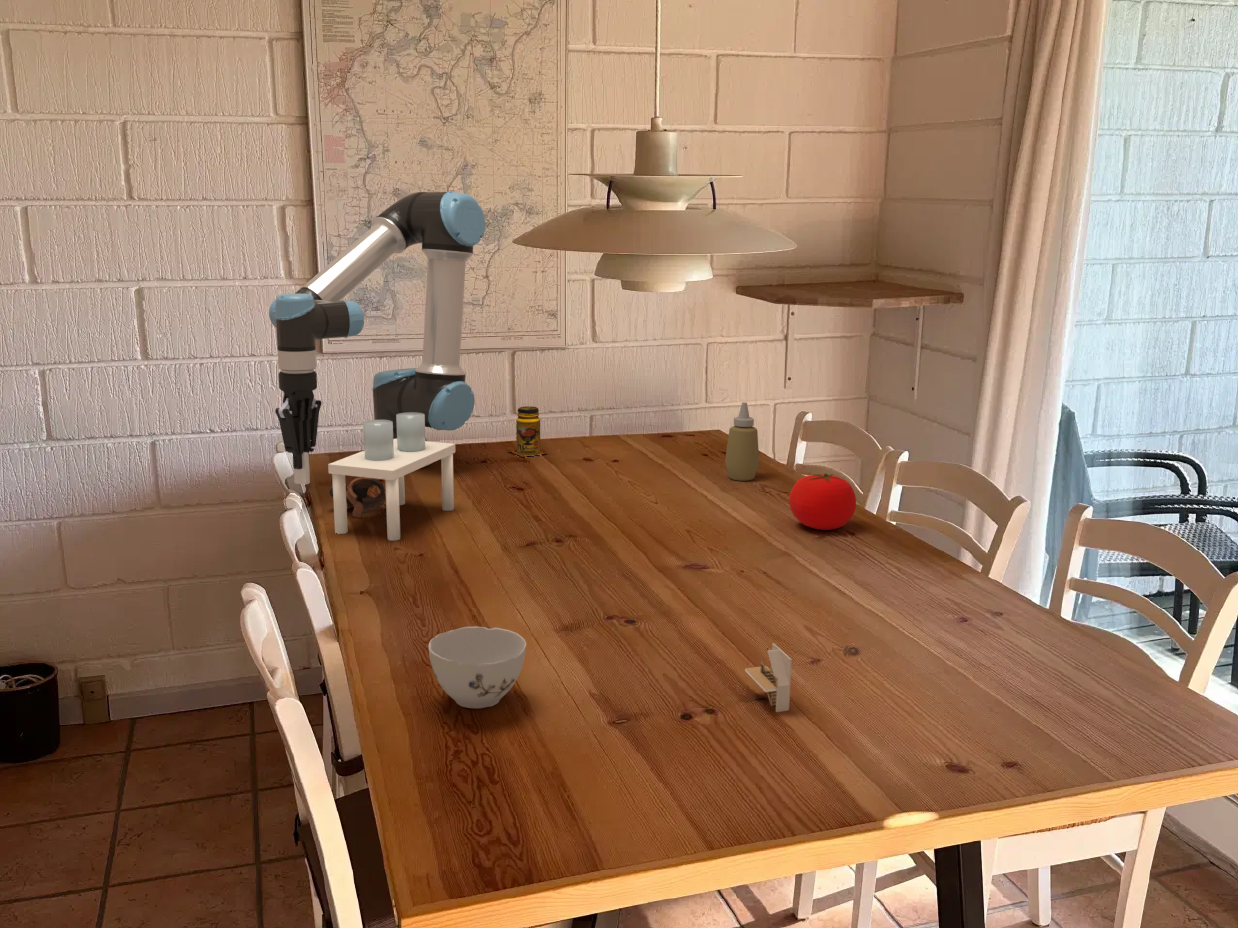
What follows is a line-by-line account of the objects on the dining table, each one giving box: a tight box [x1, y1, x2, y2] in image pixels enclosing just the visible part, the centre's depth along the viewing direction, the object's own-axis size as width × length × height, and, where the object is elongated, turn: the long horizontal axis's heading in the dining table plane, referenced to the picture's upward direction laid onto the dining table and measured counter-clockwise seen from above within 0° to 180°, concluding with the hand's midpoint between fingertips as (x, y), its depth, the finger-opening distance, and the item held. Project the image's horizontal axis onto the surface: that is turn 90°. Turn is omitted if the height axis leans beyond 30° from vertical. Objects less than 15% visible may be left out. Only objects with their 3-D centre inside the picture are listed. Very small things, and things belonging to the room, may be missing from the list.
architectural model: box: [744, 642, 793, 713], centre depth 145 cm, size 3×7×7 cm, turn 17°
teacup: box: [428, 626, 527, 710], centre depth 145 cm, size 15×12×8 cm
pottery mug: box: [328, 477, 386, 519], centre depth 229 cm, size 12×10×8 cm
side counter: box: [327, 439, 456, 542], centre depth 222 cm, size 25×14×14 cm, turn 161°
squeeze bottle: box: [724, 401, 760, 482], centre depth 259 cm, size 8×8×18 cm
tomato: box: [788, 473, 857, 531], centre depth 222 cm, size 12×13×11 cm
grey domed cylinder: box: [396, 412, 426, 452], centre depth 224 cm, size 6×6×7 cm
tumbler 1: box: [362, 419, 394, 461], centre depth 216 cm, size 6×6×7 cm
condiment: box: [515, 405, 542, 456], centre depth 282 cm, size 7×8×12 cm
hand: (302, 482), depth 231 cm, fingers closed
